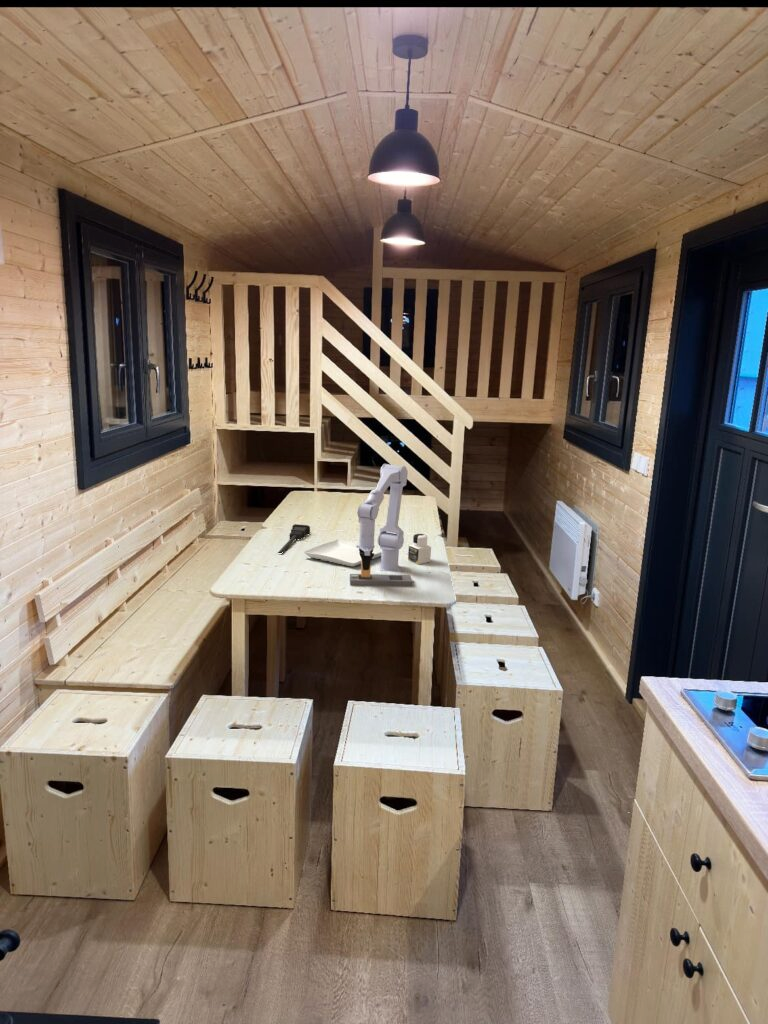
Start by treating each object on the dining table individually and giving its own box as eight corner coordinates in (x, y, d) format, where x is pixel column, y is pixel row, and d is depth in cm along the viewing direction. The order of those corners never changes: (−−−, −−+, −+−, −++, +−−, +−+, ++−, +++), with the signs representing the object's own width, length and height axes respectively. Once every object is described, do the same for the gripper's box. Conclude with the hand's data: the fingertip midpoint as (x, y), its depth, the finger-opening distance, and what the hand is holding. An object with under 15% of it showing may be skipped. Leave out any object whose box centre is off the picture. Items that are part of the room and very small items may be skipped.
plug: (360, 573, 279) (361, 555, 277) (369, 574, 279) (370, 555, 277) (361, 576, 275) (361, 558, 273) (370, 576, 275) (370, 558, 274)
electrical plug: (312, 532, 350) (312, 522, 349) (289, 559, 311) (289, 548, 310) (295, 531, 352) (295, 521, 350) (270, 558, 312) (270, 547, 311)
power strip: (349, 579, 281) (349, 572, 280) (409, 580, 283) (410, 573, 282) (350, 586, 273) (350, 578, 273) (411, 587, 275) (412, 579, 275)
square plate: (354, 571, 293) (354, 562, 292) (301, 559, 307) (301, 550, 306) (388, 556, 316) (388, 548, 315) (337, 546, 329) (337, 538, 329)
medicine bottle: (407, 560, 311) (409, 533, 308) (420, 558, 315) (422, 531, 312) (417, 564, 305) (419, 537, 302) (430, 562, 309) (432, 535, 306)
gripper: (355, 529, 280) (354, 562, 283) (357, 539, 266) (356, 573, 269) (373, 529, 281) (372, 562, 284) (376, 539, 266) (374, 574, 270)
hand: (365, 568), depth 276 cm, fingers closed on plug, 3 cm apart
